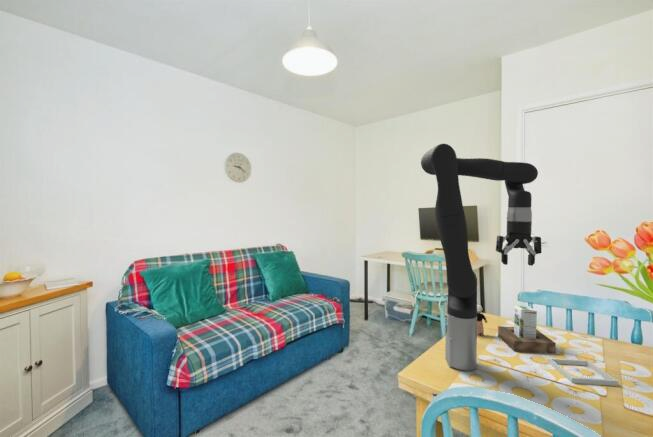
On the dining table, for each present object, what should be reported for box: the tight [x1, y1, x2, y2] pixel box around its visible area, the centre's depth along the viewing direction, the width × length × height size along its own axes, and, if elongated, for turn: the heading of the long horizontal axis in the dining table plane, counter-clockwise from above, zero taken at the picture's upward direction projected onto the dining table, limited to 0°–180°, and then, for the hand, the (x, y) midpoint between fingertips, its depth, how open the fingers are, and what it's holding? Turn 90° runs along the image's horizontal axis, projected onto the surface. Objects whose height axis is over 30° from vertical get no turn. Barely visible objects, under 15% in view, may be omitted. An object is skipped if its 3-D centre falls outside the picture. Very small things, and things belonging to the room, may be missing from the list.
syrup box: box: [513, 305, 538, 339], centre depth 117 cm, size 6×6×14 cm
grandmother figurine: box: [477, 304, 488, 337], centre depth 126 cm, size 8×4×13 cm, turn 108°
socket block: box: [497, 325, 557, 355], centre depth 117 cm, size 14×14×4 cm
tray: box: [547, 357, 619, 387], centre depth 96 cm, size 12×12×2 cm
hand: (517, 264), depth 108 cm, fingers open, 8 cm apart
